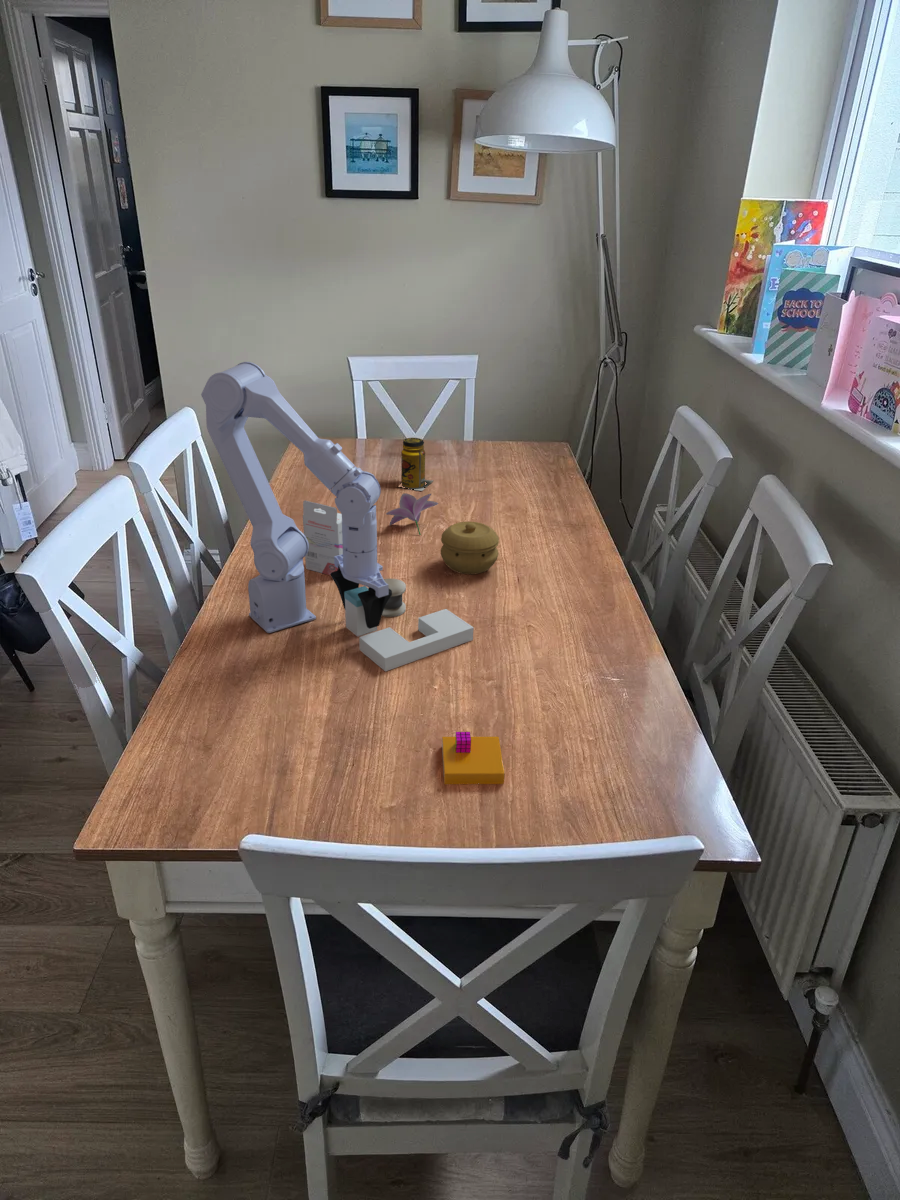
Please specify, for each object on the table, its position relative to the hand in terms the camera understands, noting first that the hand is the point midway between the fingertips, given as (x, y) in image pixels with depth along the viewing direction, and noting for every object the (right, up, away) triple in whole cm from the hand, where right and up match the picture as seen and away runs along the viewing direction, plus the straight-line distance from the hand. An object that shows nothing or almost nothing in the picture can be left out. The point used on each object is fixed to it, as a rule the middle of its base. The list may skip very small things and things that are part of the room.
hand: (361, 617), depth 141 cm
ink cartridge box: (-9, +9, +22) cm, 25 cm away
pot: (+19, +9, +24) cm, 32 cm away
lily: (+7, +19, +42) cm, 46 cm away
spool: (+4, +1, +7) cm, 9 cm away
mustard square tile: (+18, -20, -30) cm, 41 cm away
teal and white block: (0, -2, +1) cm, 2 cm away
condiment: (+6, +33, +67) cm, 75 cm away
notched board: (+10, -5, -3) cm, 11 cm away
